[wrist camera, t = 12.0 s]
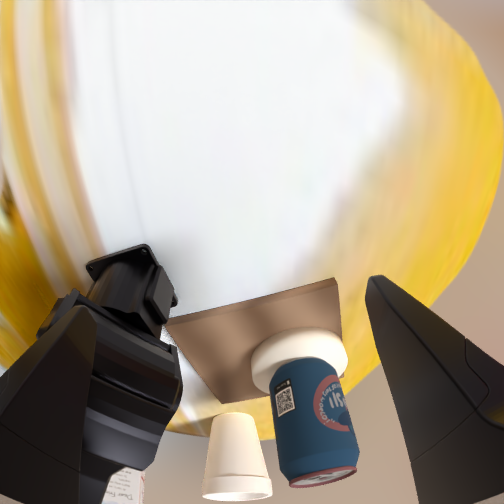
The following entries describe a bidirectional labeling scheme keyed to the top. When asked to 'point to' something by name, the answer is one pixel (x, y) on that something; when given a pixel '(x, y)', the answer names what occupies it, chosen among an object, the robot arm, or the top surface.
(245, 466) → the foam cup
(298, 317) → the plinth board
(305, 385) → the soda can
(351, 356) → the top surface
